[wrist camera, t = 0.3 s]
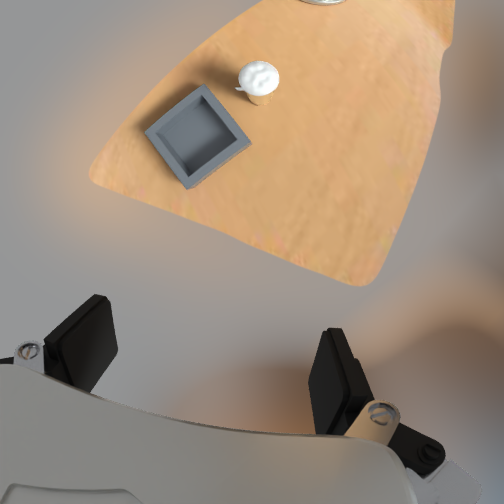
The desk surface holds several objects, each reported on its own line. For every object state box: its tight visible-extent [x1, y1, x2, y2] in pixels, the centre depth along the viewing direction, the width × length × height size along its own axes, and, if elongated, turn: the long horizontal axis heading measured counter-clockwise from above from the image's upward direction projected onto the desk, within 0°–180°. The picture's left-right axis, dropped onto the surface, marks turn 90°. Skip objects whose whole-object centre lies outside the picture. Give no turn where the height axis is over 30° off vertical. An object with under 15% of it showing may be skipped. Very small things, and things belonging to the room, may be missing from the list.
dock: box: [144, 84, 252, 190], centre depth 34 cm, size 10×10×4 cm
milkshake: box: [235, 61, 279, 106], centre depth 29 cm, size 4×5×10 cm
